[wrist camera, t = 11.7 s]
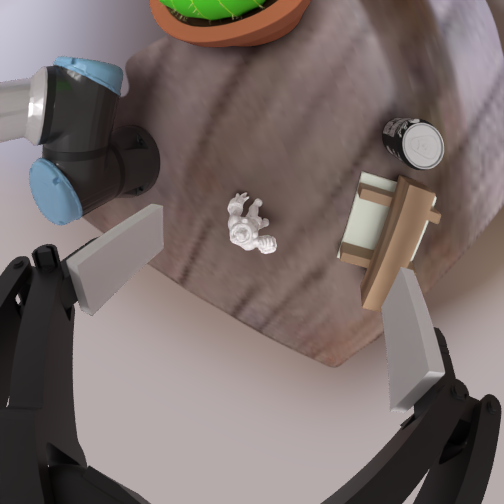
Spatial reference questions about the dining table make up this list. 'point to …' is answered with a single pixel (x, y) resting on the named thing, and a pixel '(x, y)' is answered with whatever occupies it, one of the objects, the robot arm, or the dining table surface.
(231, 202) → the figurine
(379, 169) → the dining table surface
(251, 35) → the potted cactus
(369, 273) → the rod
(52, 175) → the robot arm
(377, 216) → the rest stand
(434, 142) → the beverage can
